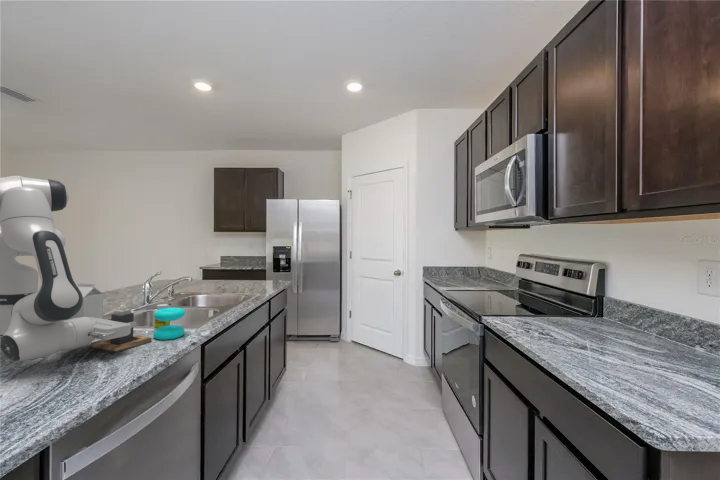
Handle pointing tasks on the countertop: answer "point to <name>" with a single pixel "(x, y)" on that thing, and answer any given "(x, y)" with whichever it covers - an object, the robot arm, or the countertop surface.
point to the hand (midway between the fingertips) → (125, 322)
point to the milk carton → (90, 302)
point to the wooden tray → (110, 347)
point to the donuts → (169, 330)
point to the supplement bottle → (161, 323)
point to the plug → (125, 317)
